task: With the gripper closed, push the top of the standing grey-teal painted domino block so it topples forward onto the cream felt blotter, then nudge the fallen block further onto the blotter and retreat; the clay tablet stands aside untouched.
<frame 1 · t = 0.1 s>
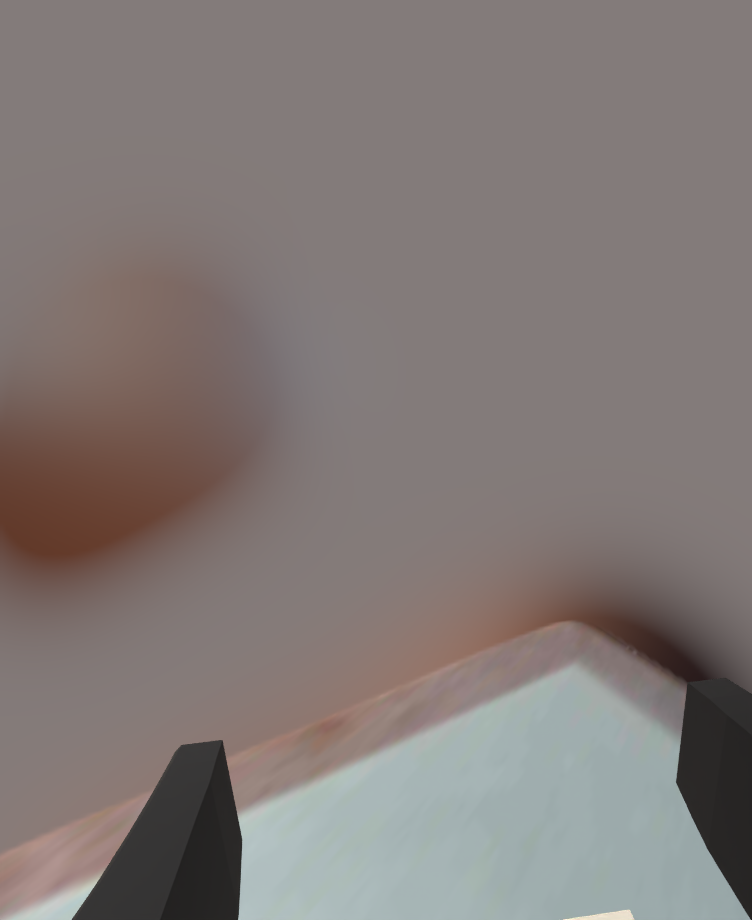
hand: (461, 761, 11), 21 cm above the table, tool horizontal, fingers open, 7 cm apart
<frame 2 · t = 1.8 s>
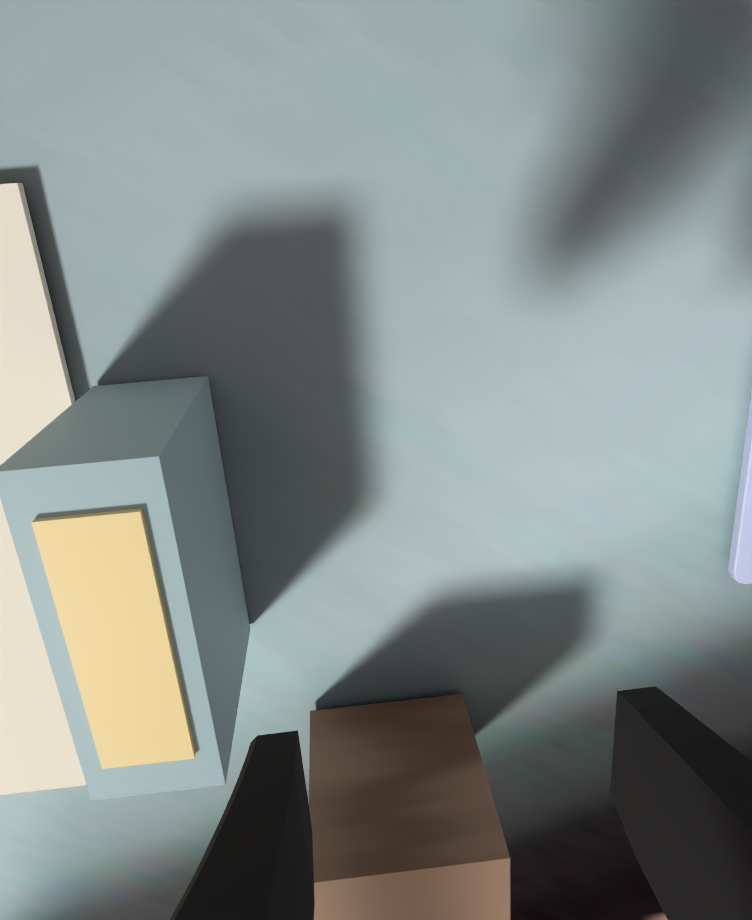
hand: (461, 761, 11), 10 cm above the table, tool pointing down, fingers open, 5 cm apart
walnut bookend: (389, 731, 23), on the table
domino block: (177, 516, 20), on the table
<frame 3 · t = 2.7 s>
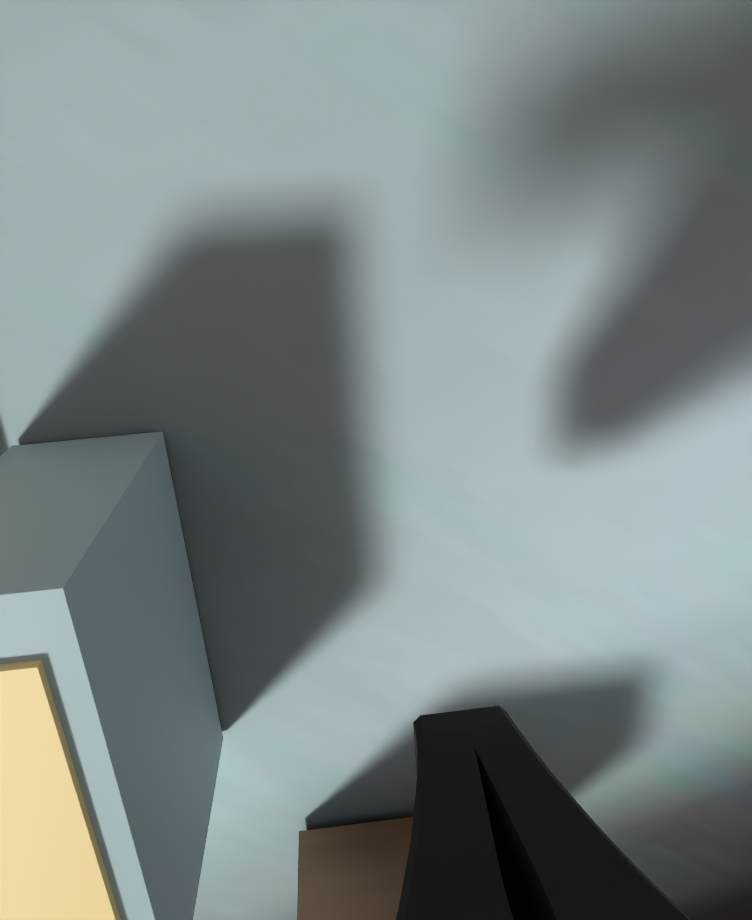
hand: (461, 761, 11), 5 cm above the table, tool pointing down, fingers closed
walnut bookend: (395, 851, 19), on the table
domino block: (128, 606, 15), on the table
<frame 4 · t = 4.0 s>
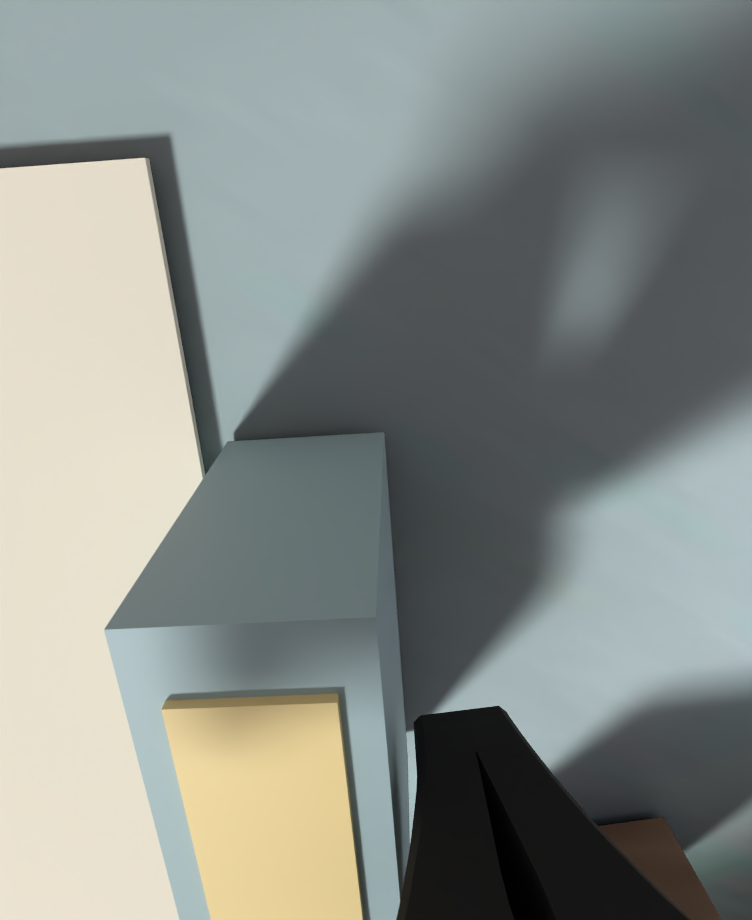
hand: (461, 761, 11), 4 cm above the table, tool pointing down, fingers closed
walnut bookend: (567, 863, 18), on the table
domino block: (326, 614, 15), on the table, tilted 7°
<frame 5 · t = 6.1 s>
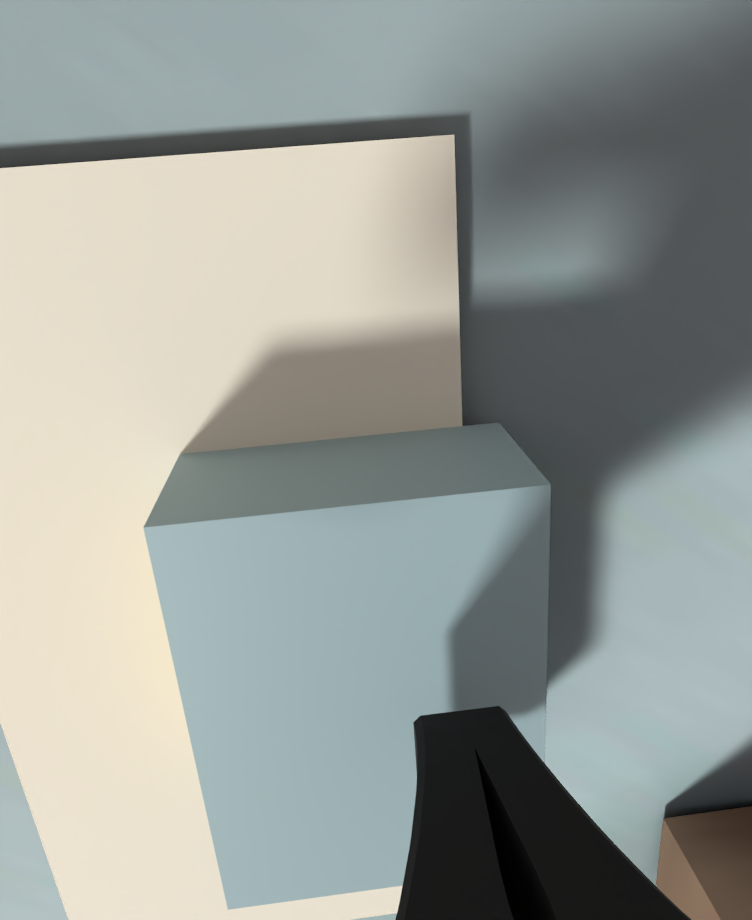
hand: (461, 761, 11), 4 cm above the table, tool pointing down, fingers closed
walnut bookend: (750, 839, 18), on the table
blotter: (229, 624, 14), on the table
domino block: (521, 645, 13), point 2 cm above the table, tilted 90°, touching blotter
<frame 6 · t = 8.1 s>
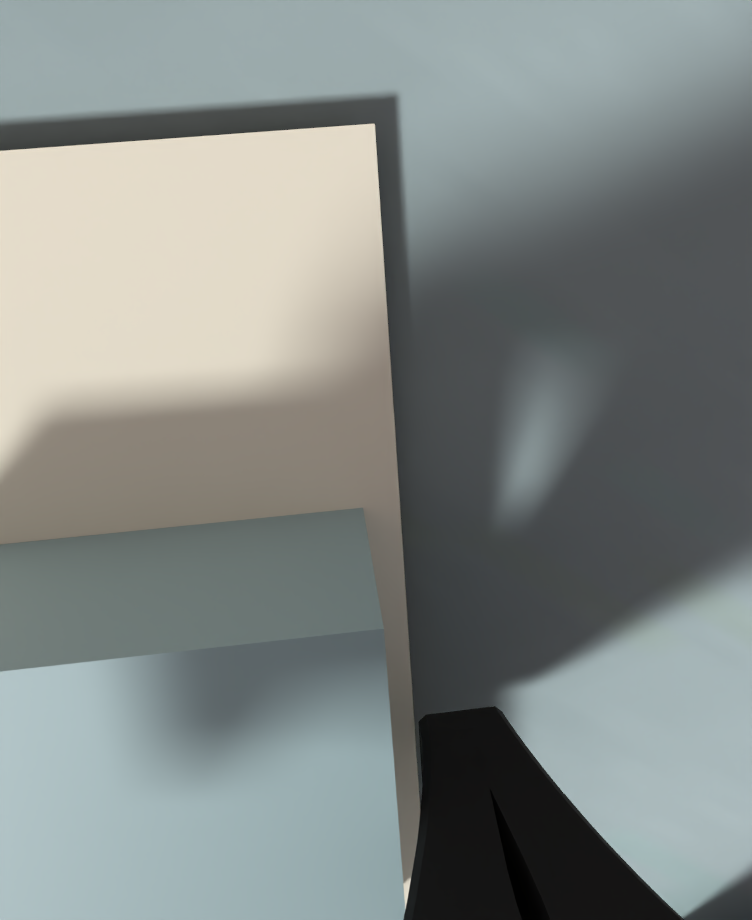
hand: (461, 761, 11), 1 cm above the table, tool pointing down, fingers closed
blotter: (115, 742, 12), on the table
domino block: (390, 796, 10), point 2 cm above the table, tilted 90°, touching blotter, gripper
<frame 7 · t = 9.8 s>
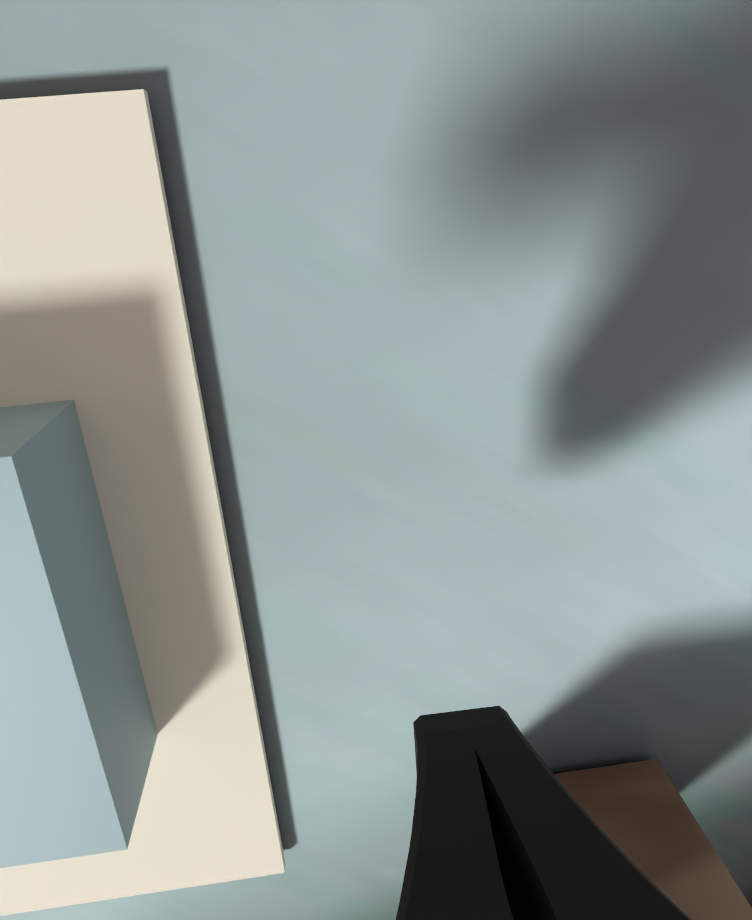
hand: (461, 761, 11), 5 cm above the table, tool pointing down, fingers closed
walnut bookend: (563, 806, 18), on the table
domino block: (100, 625, 13), point 2 cm above the table, tilted 90°, touching blotter
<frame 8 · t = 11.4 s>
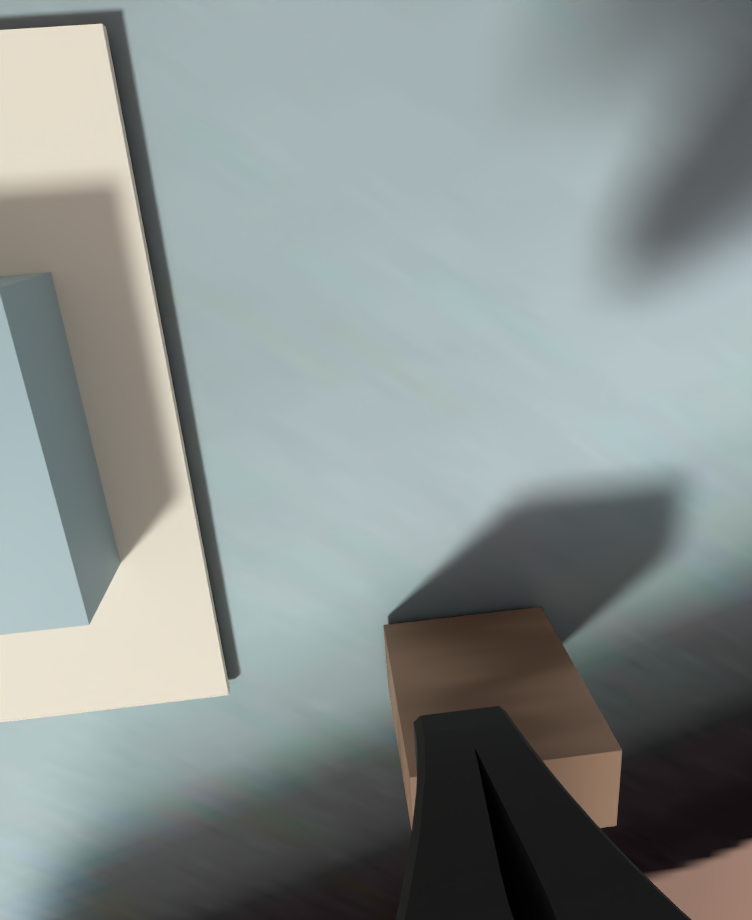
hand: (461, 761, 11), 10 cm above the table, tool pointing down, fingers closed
walnut bookend: (463, 647, 22), on the table
domino block: (70, 449, 17), point 2 cm above the table, tilted 90°, touching blotter
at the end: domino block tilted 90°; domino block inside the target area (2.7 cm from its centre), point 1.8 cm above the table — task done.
